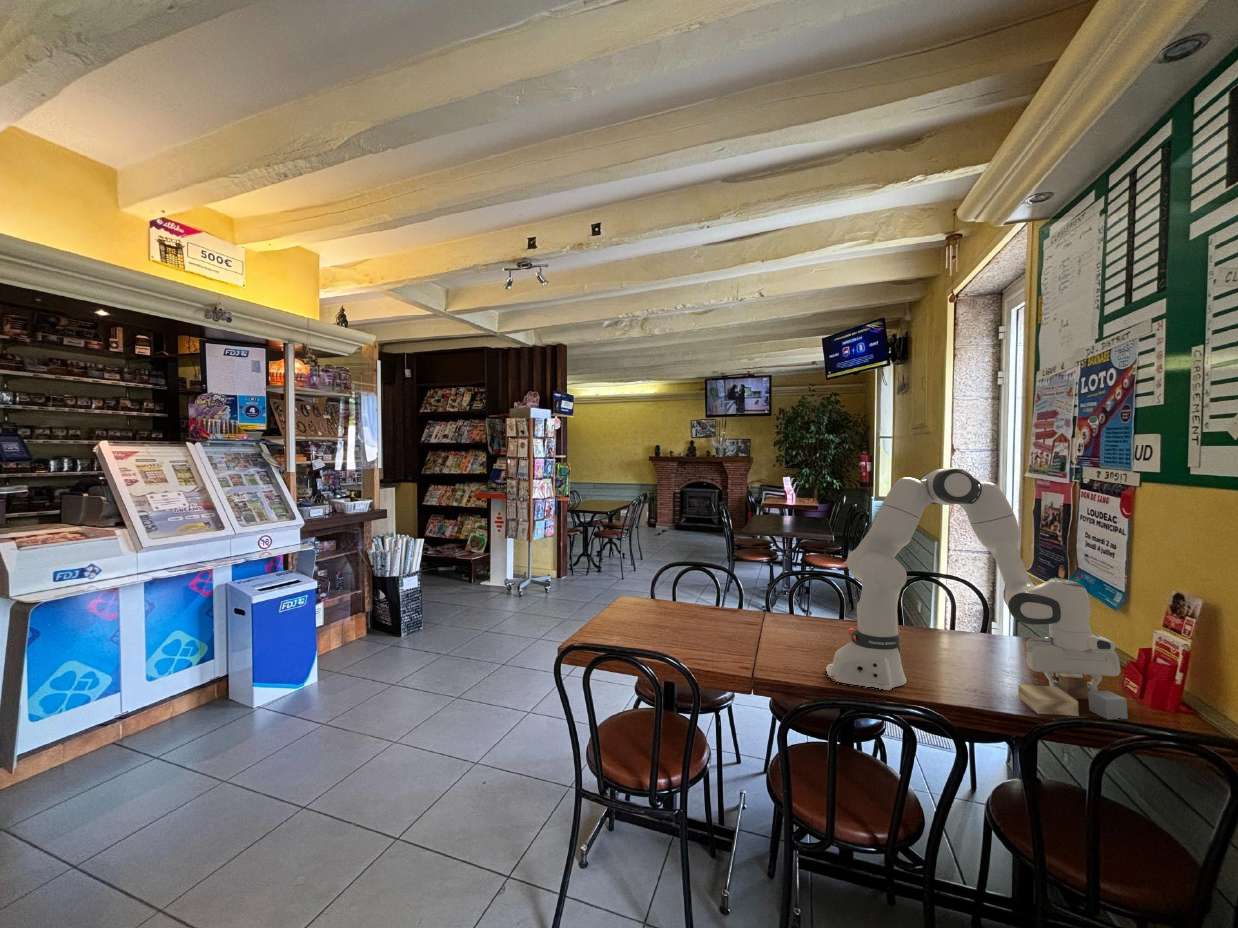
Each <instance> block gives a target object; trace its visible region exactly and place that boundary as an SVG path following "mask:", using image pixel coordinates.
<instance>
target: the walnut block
mask: <svg viewBox="0 0 1238 928" xmlns="http://www.w3.org/2000/svg"><path fill="white" fill-rule="evenodd" d="M1082 677H1083V676H1082ZM1082 677H1081V676H1079V675H1077V674H1060V673H1058V677H1057V678H1058V682H1059V685H1058V686H1059V689H1061V690H1062V691H1064V692H1065V693H1067V694H1068V695H1070V696H1071V697H1072V698H1074V699H1075V700H1077V699H1080V700H1089V697H1088V691H1089V689H1088V684H1087V682H1088V680H1087V679H1085V678H1084V677H1083V678H1082Z"/></svg>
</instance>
